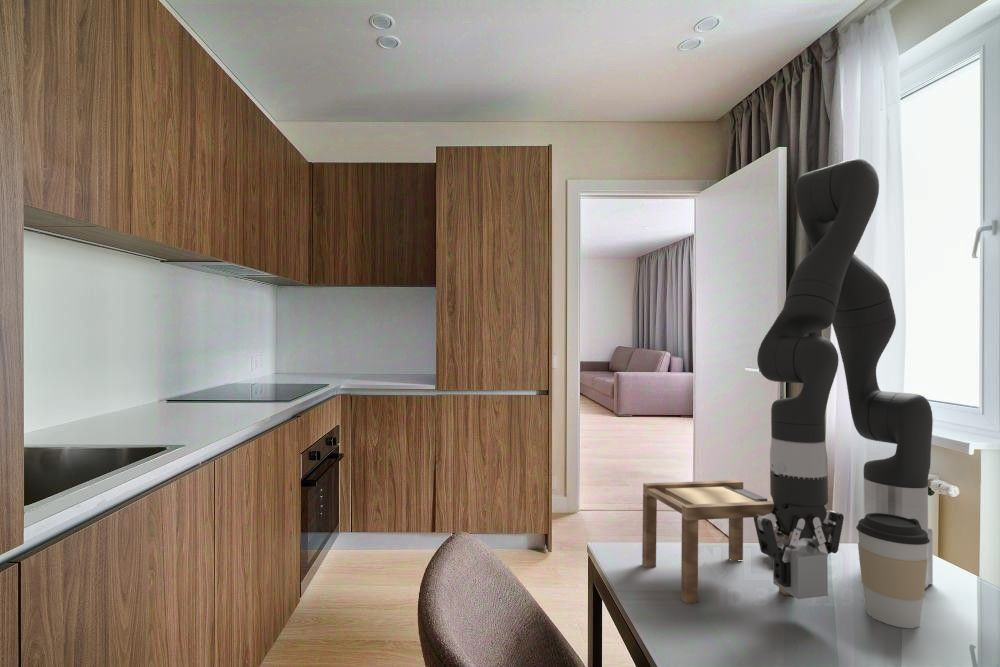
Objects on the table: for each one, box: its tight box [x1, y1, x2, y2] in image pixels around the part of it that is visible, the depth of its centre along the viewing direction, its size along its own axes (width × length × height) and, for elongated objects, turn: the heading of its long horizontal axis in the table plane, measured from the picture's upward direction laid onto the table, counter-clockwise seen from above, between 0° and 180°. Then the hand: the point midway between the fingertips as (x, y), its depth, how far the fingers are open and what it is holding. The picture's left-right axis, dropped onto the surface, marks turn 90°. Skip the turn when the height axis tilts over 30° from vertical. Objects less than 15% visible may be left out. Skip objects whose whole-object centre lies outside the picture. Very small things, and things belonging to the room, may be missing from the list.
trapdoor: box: [665, 486, 768, 505], centre depth 92 cm, size 15×11×3 cm
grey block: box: [772, 542, 829, 600], centre depth 78 cm, size 5×5×6 cm
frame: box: [641, 479, 792, 604], centre depth 91 cm, size 20×15×15 cm
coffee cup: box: [855, 513, 930, 629], centre depth 80 cm, size 9×9×15 cm
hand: (799, 582), depth 78 cm, fingers closed on grey block, 5 cm apart
